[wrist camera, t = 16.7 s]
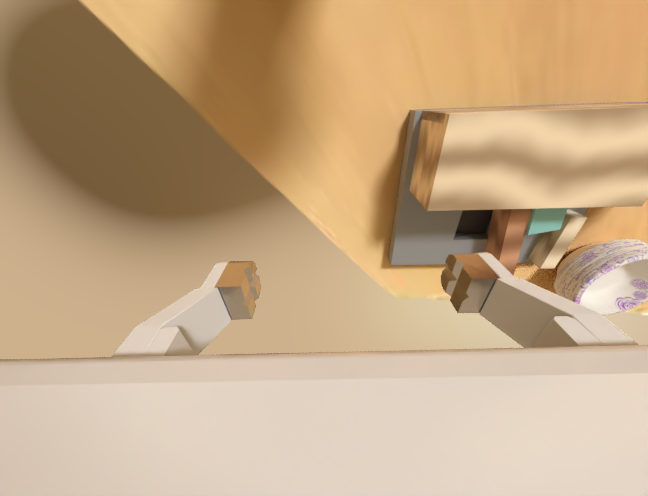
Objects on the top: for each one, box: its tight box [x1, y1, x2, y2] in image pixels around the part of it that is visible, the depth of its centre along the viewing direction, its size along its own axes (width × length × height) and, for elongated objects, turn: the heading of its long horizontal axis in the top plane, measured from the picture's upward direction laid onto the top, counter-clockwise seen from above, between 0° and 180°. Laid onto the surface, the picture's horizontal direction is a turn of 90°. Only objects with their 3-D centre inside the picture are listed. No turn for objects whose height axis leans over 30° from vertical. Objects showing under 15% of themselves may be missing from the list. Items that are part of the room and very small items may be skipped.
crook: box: [485, 209, 532, 275], centre depth 39 cm, size 16×8×4 cm, turn 13°
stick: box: [528, 210, 588, 269], centre depth 40 cm, size 10×2×3 cm, turn 2°
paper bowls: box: [554, 239, 648, 316], centre depth 44 cm, size 15×15×8 cm
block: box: [525, 208, 568, 235], centre depth 36 cm, size 4×4×4 cm
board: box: [388, 102, 648, 265], centre depth 39 cm, size 26×31×2 cm
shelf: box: [409, 103, 648, 211], centre depth 30 cm, size 11×27×8 cm, turn 92°
